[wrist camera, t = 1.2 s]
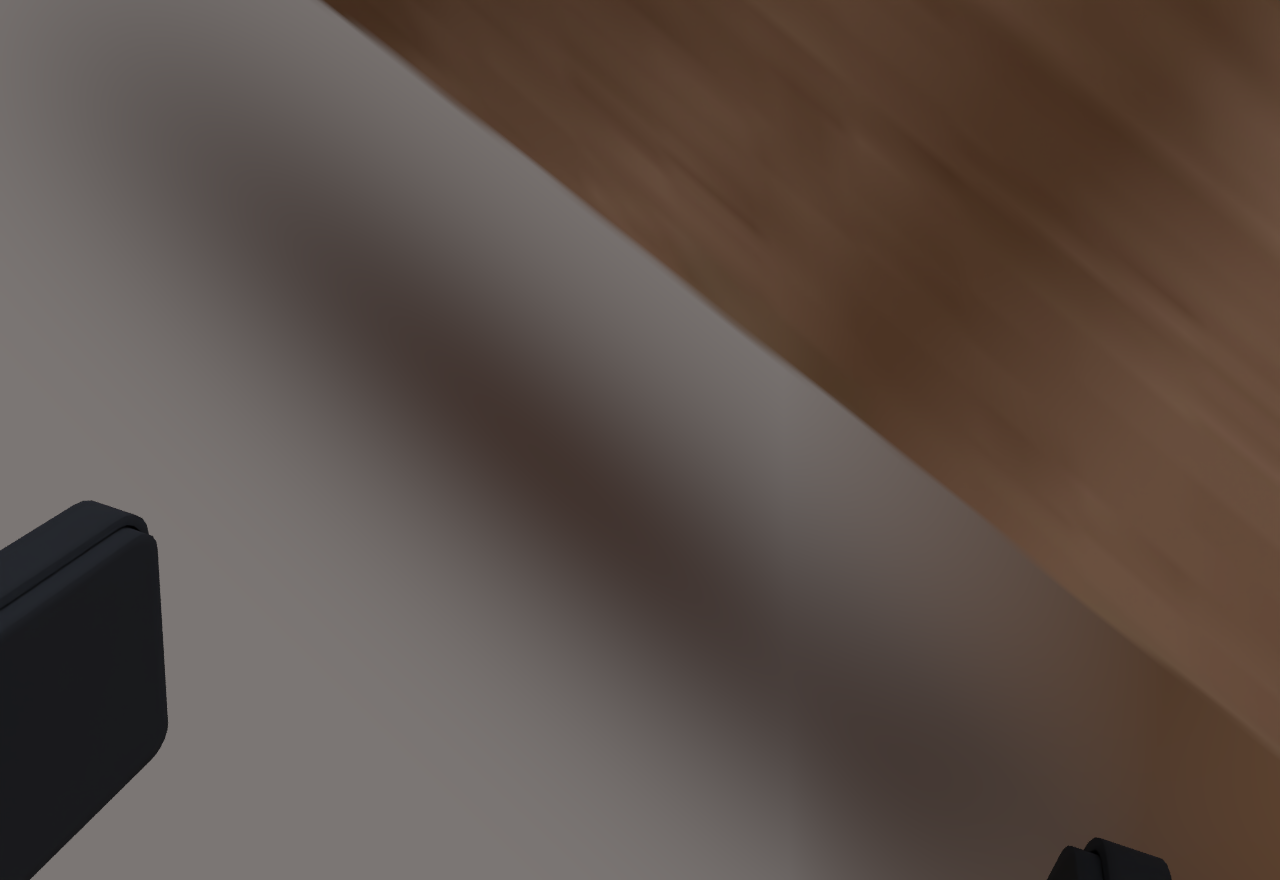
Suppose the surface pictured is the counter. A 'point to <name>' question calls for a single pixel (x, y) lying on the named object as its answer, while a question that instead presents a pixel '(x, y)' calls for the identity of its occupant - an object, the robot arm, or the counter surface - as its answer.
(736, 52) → the counter surface
